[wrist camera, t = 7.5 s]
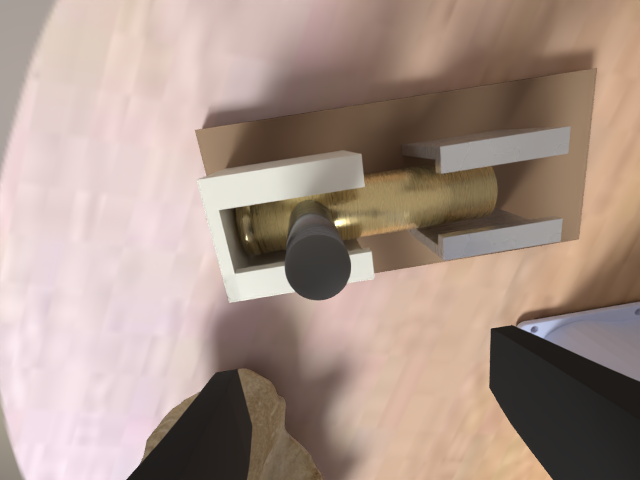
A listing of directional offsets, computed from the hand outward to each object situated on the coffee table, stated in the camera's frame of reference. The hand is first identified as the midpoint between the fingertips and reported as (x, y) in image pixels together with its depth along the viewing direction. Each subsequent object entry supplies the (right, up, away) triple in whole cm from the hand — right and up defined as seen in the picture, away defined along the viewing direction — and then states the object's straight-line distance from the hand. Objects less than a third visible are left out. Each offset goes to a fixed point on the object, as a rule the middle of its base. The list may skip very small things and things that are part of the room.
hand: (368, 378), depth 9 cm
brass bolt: (+1, +6, +7) cm, 9 cm away
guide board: (+3, +7, +9) cm, 12 cm away
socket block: (-3, +6, +9) cm, 11 cm away
